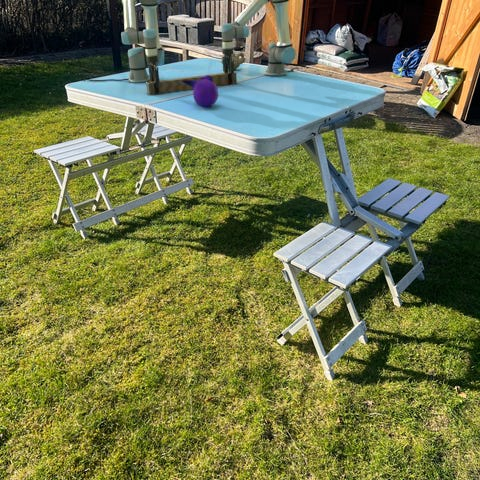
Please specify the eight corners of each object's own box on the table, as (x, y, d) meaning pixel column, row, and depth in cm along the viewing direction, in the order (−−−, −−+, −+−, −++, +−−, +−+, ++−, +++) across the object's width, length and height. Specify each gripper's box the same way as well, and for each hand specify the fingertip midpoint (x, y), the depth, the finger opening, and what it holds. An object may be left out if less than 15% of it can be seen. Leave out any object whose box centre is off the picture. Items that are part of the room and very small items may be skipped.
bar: (149, 95, 298) (148, 83, 294) (147, 93, 301) (146, 82, 298) (236, 83, 325) (236, 72, 321) (233, 82, 329) (233, 71, 325)
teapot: (225, 72, 364) (224, 52, 356) (218, 70, 372) (217, 50, 365) (247, 69, 373) (247, 50, 365) (240, 67, 381) (240, 48, 374)
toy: (206, 98, 286) (218, 113, 265) (179, 93, 279) (189, 108, 258) (211, 72, 278) (224, 86, 257) (184, 67, 271) (195, 81, 250)
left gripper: (162, 56, 284) (165, 94, 296) (152, 53, 298) (156, 89, 310) (150, 57, 281) (155, 95, 293) (141, 54, 295) (146, 90, 307)
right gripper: (238, 49, 307) (239, 84, 319) (226, 46, 321) (227, 80, 333) (228, 50, 304) (230, 85, 316) (217, 47, 318) (218, 81, 330)
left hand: (155, 92), depth 302 cm, fingers closed on bar, 5 cm apart
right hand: (228, 82), depth 324 cm, fingers closed on bar, 5 cm apart
